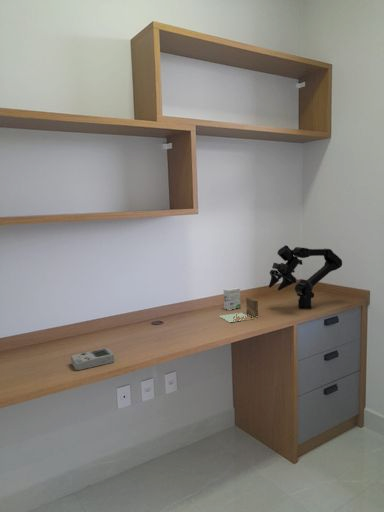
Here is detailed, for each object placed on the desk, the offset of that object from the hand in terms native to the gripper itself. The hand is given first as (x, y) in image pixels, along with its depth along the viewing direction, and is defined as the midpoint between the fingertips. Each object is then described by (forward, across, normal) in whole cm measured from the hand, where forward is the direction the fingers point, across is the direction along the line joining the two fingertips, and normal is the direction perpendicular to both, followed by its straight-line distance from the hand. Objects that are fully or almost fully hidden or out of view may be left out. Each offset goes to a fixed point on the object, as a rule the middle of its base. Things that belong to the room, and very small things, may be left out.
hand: (273, 288), depth 208 cm
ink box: (+21, -18, -3) cm, 28 cm away
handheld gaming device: (+78, +29, -63) cm, 105 cm away
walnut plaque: (+19, 0, -1) cm, 19 cm away
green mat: (+25, 0, -8) cm, 27 cm away
